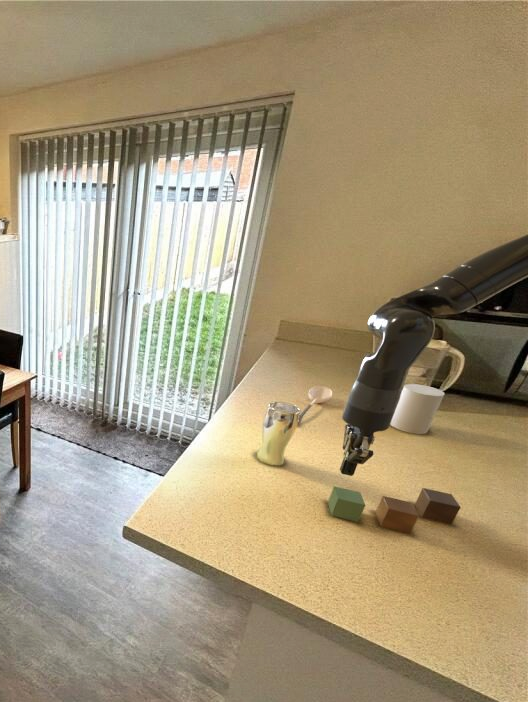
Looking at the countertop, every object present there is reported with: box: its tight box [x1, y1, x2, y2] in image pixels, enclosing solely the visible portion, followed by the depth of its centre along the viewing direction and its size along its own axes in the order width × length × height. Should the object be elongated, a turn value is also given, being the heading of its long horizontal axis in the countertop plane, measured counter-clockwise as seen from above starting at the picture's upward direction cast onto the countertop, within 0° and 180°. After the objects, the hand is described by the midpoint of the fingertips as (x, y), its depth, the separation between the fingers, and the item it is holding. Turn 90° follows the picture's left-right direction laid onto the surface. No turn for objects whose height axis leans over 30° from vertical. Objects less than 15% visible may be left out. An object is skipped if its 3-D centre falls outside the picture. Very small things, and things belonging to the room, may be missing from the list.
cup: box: [389, 383, 445, 435], centre depth 112 cm, size 8×8×12 cm
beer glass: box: [256, 401, 301, 466], centre depth 98 cm, size 7×7×15 cm
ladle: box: [297, 385, 333, 426], centre depth 125 cm, size 6×28×5 cm, turn 131°
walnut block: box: [414, 487, 462, 525], centre depth 81 cm, size 4×4×4 cm
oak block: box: [375, 495, 419, 534], centre depth 79 cm, size 4×4×4 cm
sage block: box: [327, 485, 366, 523], centre depth 82 cm, size 4×4×4 cm
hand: (346, 473), depth 87 cm, fingers closed
